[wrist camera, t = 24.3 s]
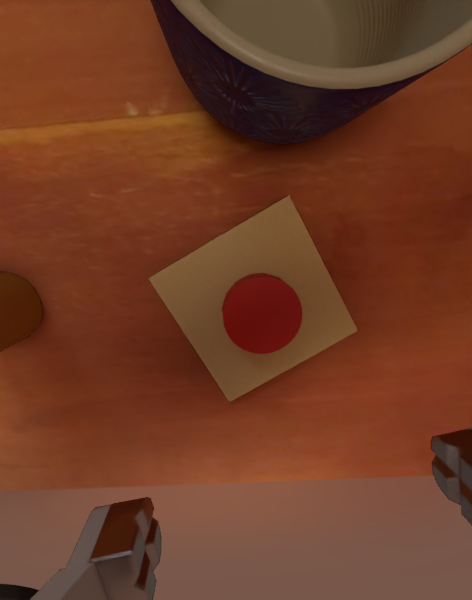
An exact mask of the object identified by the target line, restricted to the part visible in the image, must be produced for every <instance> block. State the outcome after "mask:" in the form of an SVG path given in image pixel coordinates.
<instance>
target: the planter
mask: <svg viewBox="0 0 472 600" xmlns="http://www.w3.org/2000/svg"><path fill="white" fill-rule="evenodd" d="M151 3H152V5H153V8H154V11H155V13H156V16H157V18H158V21H159V23H160V26H161V29H162V31H163V34H164V36H165V39H166V41H167V44H168V47H169V49H170V52H171V54H172V57H173V59H174V61H175V63H176V65H177V67H178V70H179V72H180V74H181V76H182V77H183V79H184V81H185V82H186V84H187V86H188V87H189V89H190V90H191V92H192V93H193V94H194V96H195V97H196V99H197V100H198V101H199V102H200V103H201V105H202V106H203V107H204V108H205V109H206V110H207V111H208V112H209V113H210V114H211V115H212V116H213V117H214V118H215V119H217V120H218V121H219V122H221V123H222V124H223V125H224V126H226V127H228V128H229V129H231V130H233V131H234V132H236V133H238V134H241V135H243V136H245V137H248V138H251V139H254V140H257V141H262V142H266V143H276V144H289V143H297V142H303V141H307V140H311V139H315V138H317V137H320V136H323V135H325V134H328V133H330V132H332V131H333V130H335V129H337V128H339V127H341V126H343V125H345V124H346V123H348V122H350V121H351V120H353V119H354V118H356V117H358V116H359V115H361V114H362V113H364V112H366V111H367V110H369V109H370V108H372V107H374V106H375V105H377V104H378V103H380V102H382V101H383V100H385V99H387V98H388V97H390V96H391V95H393V94H395V93H396V92H398V91H399V90H401V89H403V88H404V87H406V86H407V85H409V84H411V83H412V82H414V81H416V80H417V79H419V78H420V77H422V76H424V75H425V74H427V73H428V72H430V71H432V70H433V69H435V68H436V67H438V66H440V65H441V64H443V63H444V62H446V61H448V60H449V59H451V58H452V57H454V56H455V55H457V54H458V53H460V52H462V51H463V50H464V49H466V48H467V47H468V46H470V45H471V44H472V0H151Z"/></svg>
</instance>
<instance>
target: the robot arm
mask: <svg viewBox="0 0 472 600" xmlns="http://www.w3.org/2000/svg"><path fill="white" fill-rule="evenodd" d="M431 450H432V451H433V452H434V453H435V454H436V456H435V458H434V459H433V461H432V471H433V475H434V477H435V480H436V482H437V484H438V486H439V487H440V489H441V491H442V492H443V493H444V494H445V495H446V497H447V498H448V499H449V500H451V501H453V502H455V503H457V504H459V505H461V511H462V515H463V516H464V517H465V518H466V519H467V521H468V522H469V523H470V524H471V525H472V427H471V428H467V429H464V430H459V431H455V432H450V433H446V434H441V435H437V436H432V439H431ZM153 510H154V507H153V504H152V501H151V498H148V497H146V498H140V499H135V500H130V501H124V502H119V503H114V504H111V505H105V506H100V507H95V508H94V509H93V510H92V512H91V513H90V515H89V517H88V520H87V522H86V524H85V526H84V528H83V531H82V533H81V535H80V538H79V540H78V542H77V544H76V546H75V549H74V551H73V553H72V555H71V558H70V560H69V562H68V564H67V566H66V568H64V569H60V570H59V571H58V572H57V573H56V574H55V575H54V576H53V577H52V578H51V579H50V580H49V581H48V582H47V583H46V584H45V585H44V586H43V587H42V588H41V589H40V590H39V591H38V592H37V593H36V594H35V595H34V596H33V597H32V598H31V599H30V600H153V597H154V591H155V586H156V579H155V575H154V572H153V571H154V569H155V568H156V567H157V565H158V564H159V562H160V555H161V532H160V527H159V523H158V521H157V520H156V519H154V518H153V517H152V515H153Z"/></svg>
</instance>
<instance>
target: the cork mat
mask: <svg viewBox="0 0 472 600" xmlns="http://www.w3.org/2000/svg"><path fill="white" fill-rule="evenodd" d="M263 272H264V273H265V274H270V275H273V276H276V277H277V276H278V277H279V278H281V279H282V281H284V282H285V283H286V284H288V285H289V286H290V287H292V288H293V289H294V291H295V292H296V294H297V296H298V297H299V300H300V302H301V306H302V323H301V326H300V329H299V331H298V333H297V335H296V336H295V337H294V339H293V340H292V341H291V342H290V343H289V344H288V345H286V346H285V347H284V348H282V349H280V350H278V351H275V352H272V353H268V354H255V353H251V352H248V351H245V350H243V349H241V348H240V347H238V346H237V345H236V344H235V343H234V342H233V341H232V340H231V339H230V337H229V336H228V334H227V332H226V330H225V327H224V323H223V312H222V307H223V302H224V299H225V296H226V293H227V292H228V290H229V289H230V288H231V286H232V285H233V284H234V283H235V281H236V282H237V281H238V280H239V279H241V278H243V277H245V276H247V275H248V274H255V273H263ZM149 281H150V282H151V284H152V285H153V287H154V288H155V290H156V291H157V293H158V294H159V296H160V297H161V299H162V300H163V302H164V303H165V305H166V306H167V308H168V310H169V311H170V313H171V314H172V316H173V317H174V319H175V320H176V322H177V323H178V325H179V326H180V328H181V329H182V331H183V332H184V334H185V335H186V337H187V338H188V340H189V342H190V343H191V345H192V346H193V348H194V349H195V351H196V352H197V354H198V355H199V357H200V358H201V360H202V361H203V363H204V364H205V366H206V367H207V369H208V370H209V372H210V374H211V375H212V377H213V378H214V380H215V381H216V383H217V384H218V386H219V387H220V389H221V390H222V392H223V393H224V395H225V396H226V398H227V399H228V401H229V402H231V401H233V400H235V399H237V398H238V397H240V396H242V395H244V394H245V393H247V392H249V391H251V390H253V389H254V388H256V387H258V386H260V385H262V384H263V383H265V382H267V381H269V380H271V379H272V378H274V377H276V376H278V375H280V374H281V373H283V372H285V371H287V370H288V369H290V368H292V367H294V366H296V365H297V364H299V363H301V362H303V361H305V360H306V359H308V358H310V357H312V356H314V355H315V354H317V353H319V352H321V351H322V350H324V349H326V348H328V347H330V346H331V345H333V344H335V343H337V342H339V341H340V340H342V339H344V338H346V337H348V336H349V335H351V334H353V333H355V332H357V331H358V330H357V328H356V326H355V324H354V322H353V320H352V318H351V316H350V314H349V312H348V310H347V308H346V306H345V304H344V302H343V300H342V298H341V296H340V294H339V292H338V290H337V288H336V286H335V284H334V282H333V280H332V278H331V277H330V275H329V273H328V271H327V269H326V267H325V265H324V263H323V261H322V259H321V257H320V255H319V253H318V251H317V249H316V247H315V245H314V243H313V241H312V239H311V237H310V235H309V233H308V231H307V229H306V227H305V225H304V223H303V221H302V219H301V217H300V215H299V213H298V211H297V210H296V208H295V206H294V204H293V202H292V200H291V198H290V196H289V195H288V196H286V197H284V198H283V199H281V200H279V201H278V202H276V203H274V204H273V205H271V206H269V207H267V208H266V209H264V210H262V211H261V212H259V213H257V214H256V215H254V216H252V217H251V218H249V219H247V220H246V221H244V222H242V223H241V224H239V225H237V226H235V227H234V228H232V229H230V230H229V231H227V232H225V233H224V234H222V235H220V236H219V237H217V238H215V239H214V240H212V241H210V242H209V243H207V244H205V245H203V246H202V247H200V248H198V249H197V250H195V251H193V252H192V253H190V254H188V255H187V256H185V257H183V258H182V259H180V260H178V261H177V262H175V263H173V264H171V265H170V266H168V267H166V268H165V269H163V270H161V271H160V272H158V273H156V274H155V275H153V276H151V277H150V278H149Z"/></svg>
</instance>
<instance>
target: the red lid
mask: <svg viewBox="0 0 472 600" xmlns="http://www.w3.org/2000/svg"><path fill="white" fill-rule="evenodd" d="M222 312H223V323H224V327H225V330H226V332H227V334H228V336H229V337H230V339H231V340H232V341H233V342H234V343H235V344H236V345H237V346H238V347H240V348H241V349H243V350H245V351H248V352H251V353H255V354H268V353H272V352H275V351H278V350H280V349H282V348H284V347H285V346H286V345H288V344H289V343H290V342H291V341H292V340H293V339H294V337H295V336H296V335H297V333H298V331H299V329H300V326H301V323H302V306H301V302H300V300H299V297H298V296H297V294H296V292H295V291H294V289H293V288H292V287H290V286H289V285H288V284H286V283H285V282H284V281H282V279H281V278H279V277H278V276H277V277H276V276H273V275H270V274H265V273H264V272H263V273H255V274H248V275H247V276H245V277H243V278H241V279H239V280H238V281H237V282H236V281H235V283H234V284H233V285H232V286H231V288H230V289H229V290H228V292H227V293H226V296H225V299H224V302H223V307H222Z"/></svg>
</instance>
